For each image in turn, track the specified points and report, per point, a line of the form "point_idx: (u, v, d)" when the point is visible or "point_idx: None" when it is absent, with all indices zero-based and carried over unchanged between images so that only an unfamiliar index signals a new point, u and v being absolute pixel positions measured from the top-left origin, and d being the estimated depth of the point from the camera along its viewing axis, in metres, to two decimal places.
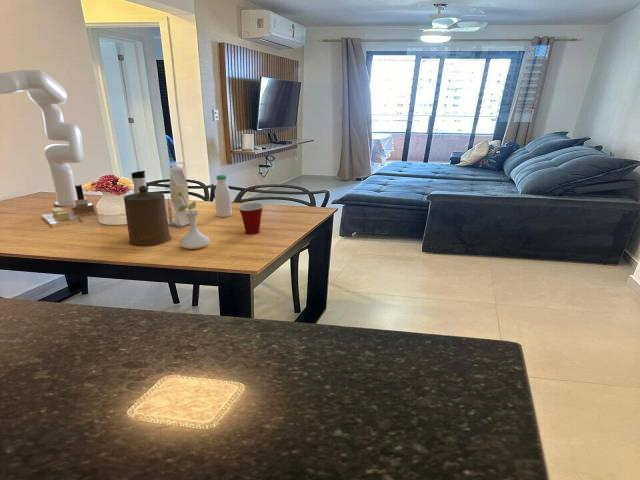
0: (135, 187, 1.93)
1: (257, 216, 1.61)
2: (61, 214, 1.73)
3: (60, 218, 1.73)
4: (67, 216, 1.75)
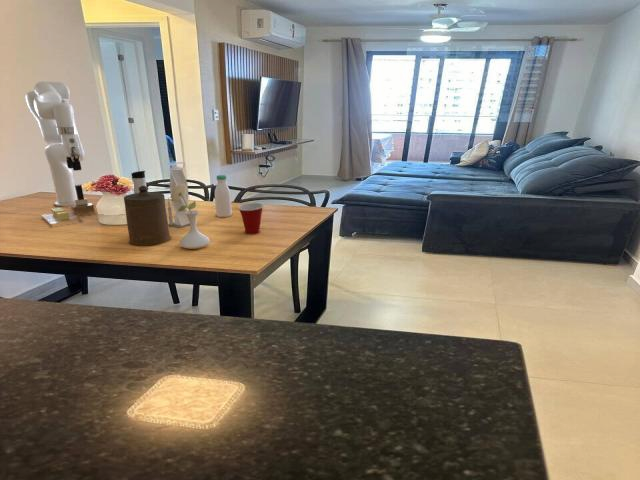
0: (135, 187, 1.93)
1: (257, 216, 1.61)
2: (61, 214, 1.73)
3: (60, 218, 1.73)
4: (67, 216, 1.75)
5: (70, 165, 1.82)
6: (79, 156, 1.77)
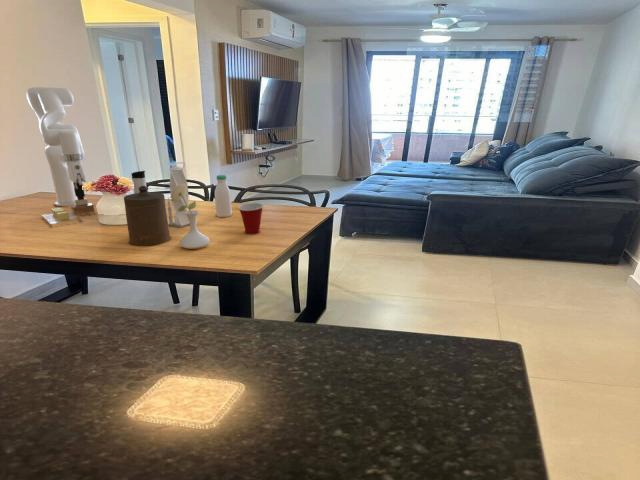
0: (135, 187, 1.93)
1: (257, 216, 1.61)
2: (61, 214, 1.73)
3: (60, 218, 1.73)
4: (67, 216, 1.75)
5: None
6: (84, 181, 1.81)
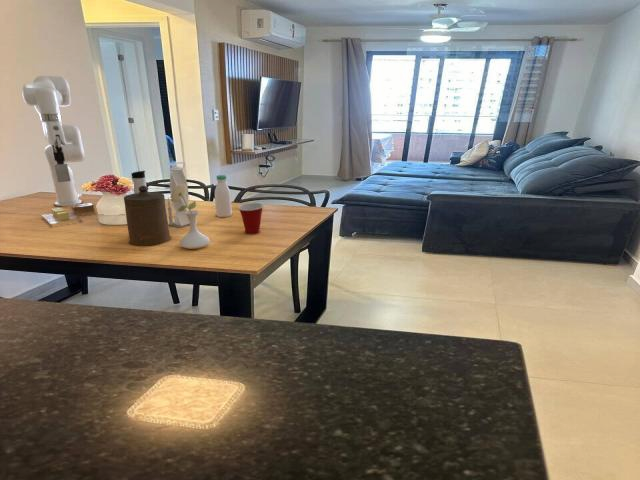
0: (135, 187, 1.93)
1: (257, 216, 1.61)
2: (61, 214, 1.73)
3: (60, 218, 1.73)
4: (67, 216, 1.75)
5: None
6: (64, 144, 1.69)
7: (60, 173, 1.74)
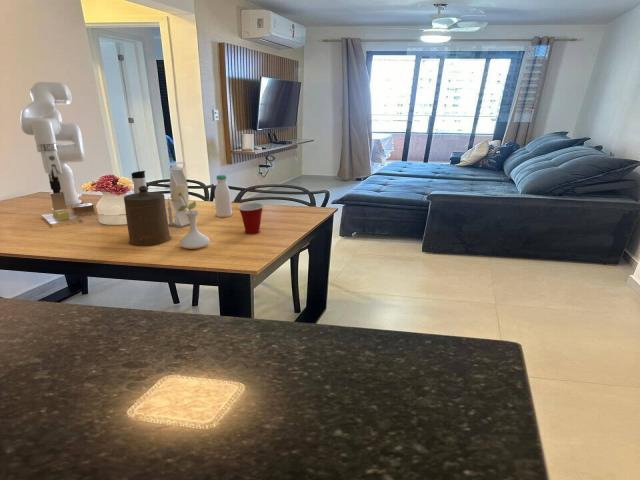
0: (135, 187, 1.93)
1: (257, 216, 1.61)
2: (61, 214, 1.73)
3: (60, 218, 1.73)
4: (67, 216, 1.75)
5: None
6: (60, 173, 1.69)
7: (56, 202, 1.74)
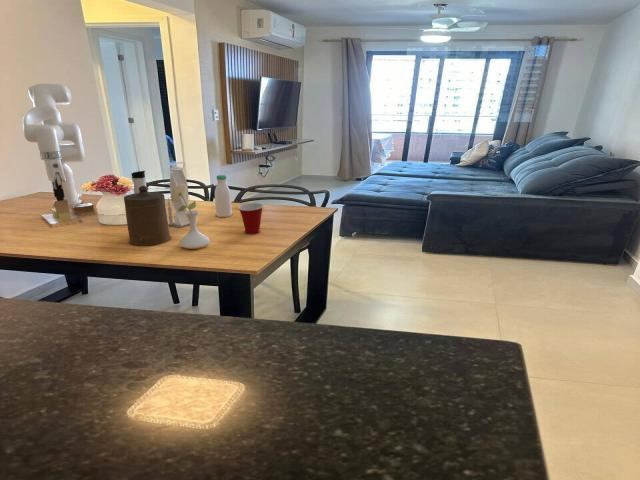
0: (135, 187, 1.93)
1: (257, 216, 1.61)
2: (63, 215, 1.71)
3: (62, 219, 1.71)
4: (69, 217, 1.73)
5: None
6: (63, 181, 1.67)
7: (60, 209, 1.72)
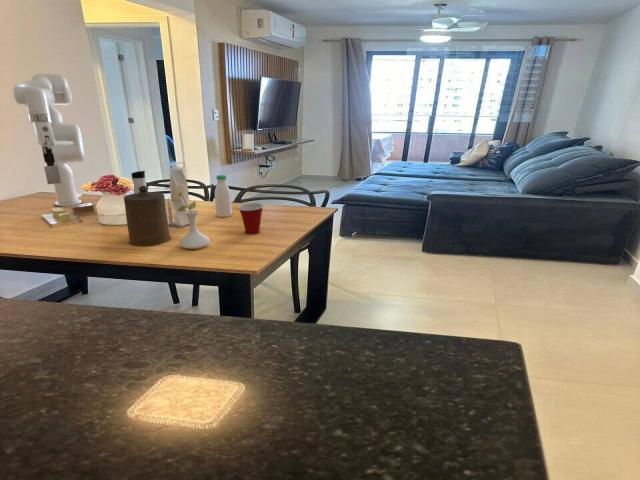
0: (135, 187, 1.93)
1: (257, 216, 1.61)
2: (63, 215, 1.71)
3: (62, 219, 1.71)
4: (69, 217, 1.73)
5: None
6: (54, 145, 1.65)
7: (50, 175, 1.69)
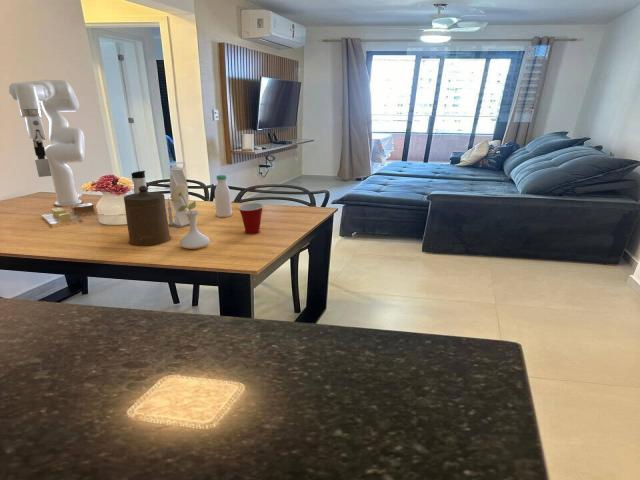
0: (135, 187, 1.93)
1: (257, 216, 1.61)
2: (63, 215, 1.71)
3: (62, 219, 1.71)
4: (69, 217, 1.73)
5: None
6: (44, 139, 1.71)
7: (41, 168, 1.75)
